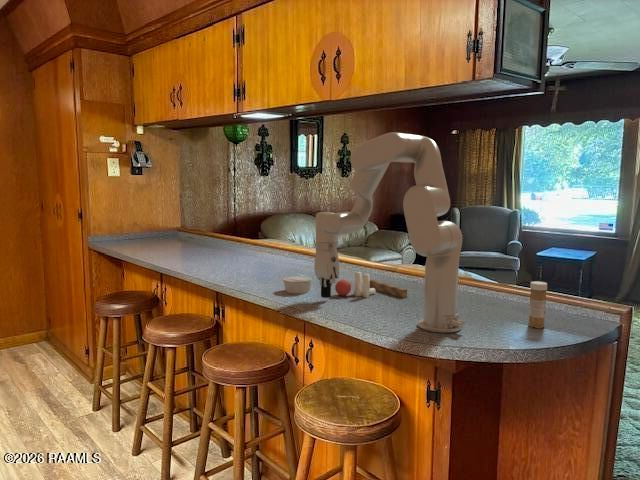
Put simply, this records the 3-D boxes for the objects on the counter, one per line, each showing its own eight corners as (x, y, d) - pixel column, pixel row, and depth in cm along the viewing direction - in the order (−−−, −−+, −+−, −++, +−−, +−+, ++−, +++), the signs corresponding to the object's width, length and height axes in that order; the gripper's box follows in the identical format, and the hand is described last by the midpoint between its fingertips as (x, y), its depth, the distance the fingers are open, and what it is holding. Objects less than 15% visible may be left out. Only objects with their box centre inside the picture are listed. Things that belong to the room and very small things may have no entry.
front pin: (357, 297, 181) (375, 294, 186) (357, 291, 181) (375, 288, 185) (353, 295, 183) (371, 293, 188) (354, 289, 183) (371, 287, 187)
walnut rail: (406, 297, 181) (407, 289, 181) (402, 297, 180) (403, 290, 180) (370, 286, 200) (370, 279, 199) (366, 286, 199) (366, 279, 198)
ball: (346, 274, 184) (340, 281, 179) (356, 286, 184) (350, 293, 179) (335, 281, 187) (329, 289, 182) (345, 293, 187) (339, 301, 182)
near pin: (370, 297, 181) (370, 274, 180) (365, 297, 180) (365, 275, 179) (366, 295, 183) (367, 273, 182) (361, 296, 182) (361, 274, 181)
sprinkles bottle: (532, 323, 148) (534, 280, 146) (547, 326, 145) (550, 282, 143) (525, 326, 145) (527, 282, 143) (540, 329, 142) (543, 284, 140)
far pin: (362, 294, 185) (362, 272, 184) (357, 295, 184) (357, 273, 183) (358, 293, 187) (358, 271, 186) (353, 293, 186) (353, 272, 185)
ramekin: (282, 294, 185) (282, 281, 184) (284, 288, 196) (284, 275, 195) (311, 294, 185) (311, 281, 184) (312, 288, 196) (312, 275, 195)
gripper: (346, 248, 168) (346, 300, 171) (323, 243, 181) (323, 291, 183) (328, 250, 164) (328, 302, 167) (306, 245, 177) (306, 294, 179)
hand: (325, 296), depth 175 cm, fingers closed
